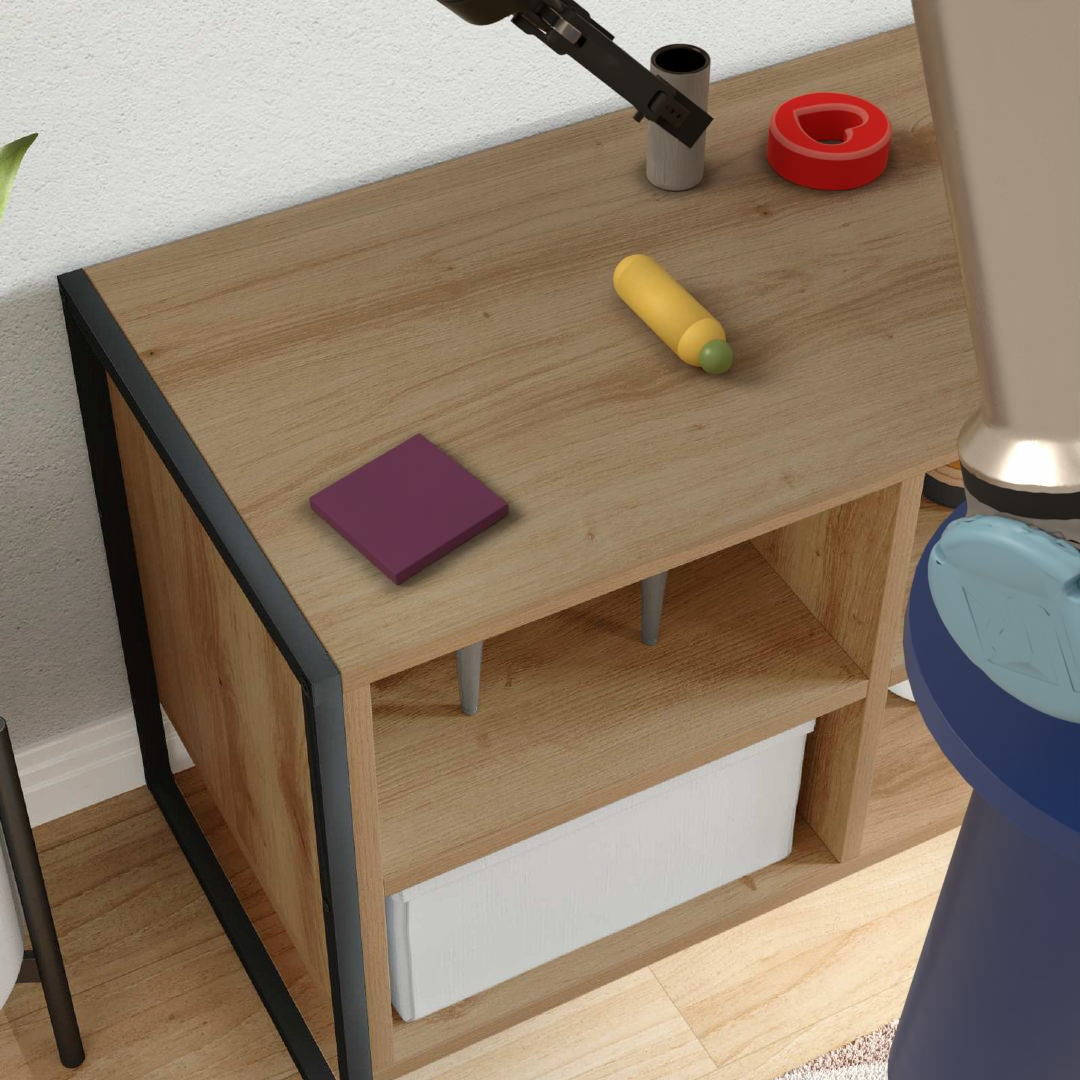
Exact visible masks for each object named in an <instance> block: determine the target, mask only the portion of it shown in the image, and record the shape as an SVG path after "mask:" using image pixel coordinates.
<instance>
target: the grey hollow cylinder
mask: <svg viewBox="0 0 1080 1080" xmlns="http://www.w3.org/2000/svg"><path fill="white" fill-rule="evenodd" d="M711 58H712V57H711V55H710V54H709V53H708V52H707V51H706V50H705V49H703V48H702V47H699V46H697V45H694V44H690V43H669V44H665V45H663V46H661V47H658V48H657V49H655V50H654V51H653V52H652V54H651V55H650V61H649V71H650V72H652V73H653V74H654V75H655V76H656V75H657V74H658V75H659V76H660V77H662V78H663V79H664V80H666V81H667V82H668V83H669V84H671V85H672V86H673V87H674V88H676V89H677V90H678V91H680V92H681V93H682V94H683V95H685V96H686V97H687V98H689V99H690V100H691V101H692V102H694V103H695V104H696V105H697V106H699V107H700V108H701V109H703V110H704V111H705V112H706V113H708V109H709V93H710V80H711V65H712V59H711ZM646 141H647V142H646V147H647V148H646V167H645V169H646V177H647V180H648V181H649V182H650V183H651V184H652V185H653V186H655V187H656V188H659V189H662V190H666V191H678V192H679V191H685V190H689V189H691V188H694V187H696V186H697V185H698V184H699V183H700V182H701V181H702V180H703V176H704V169H705V153H706V141H707V129H706V130H705V131H704V132H703V134H702V135H701V136H700V137H699V139H698V140H697V141H696V143H695V144H694V145H693V147H692V148H691V149H690V148H688V147H687V146H686V145H684V144H683V143H682V142H680V141H679V140H678V139H676V138H675V137H674V136H672V135H671V134H669V133H668V132H667V131H665V130H664V129H663V128H661V127H660V126H659V125H657V124H656V123H655V122H652V121H651V120H650V121H649V120H648V119H647V140H646Z"/></svg>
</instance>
